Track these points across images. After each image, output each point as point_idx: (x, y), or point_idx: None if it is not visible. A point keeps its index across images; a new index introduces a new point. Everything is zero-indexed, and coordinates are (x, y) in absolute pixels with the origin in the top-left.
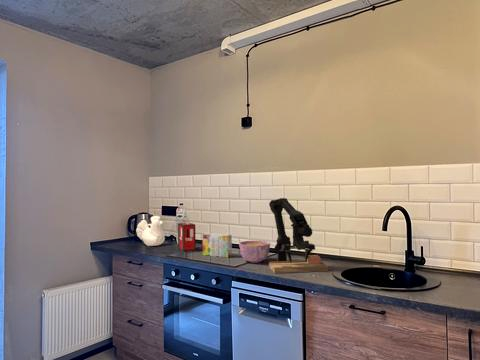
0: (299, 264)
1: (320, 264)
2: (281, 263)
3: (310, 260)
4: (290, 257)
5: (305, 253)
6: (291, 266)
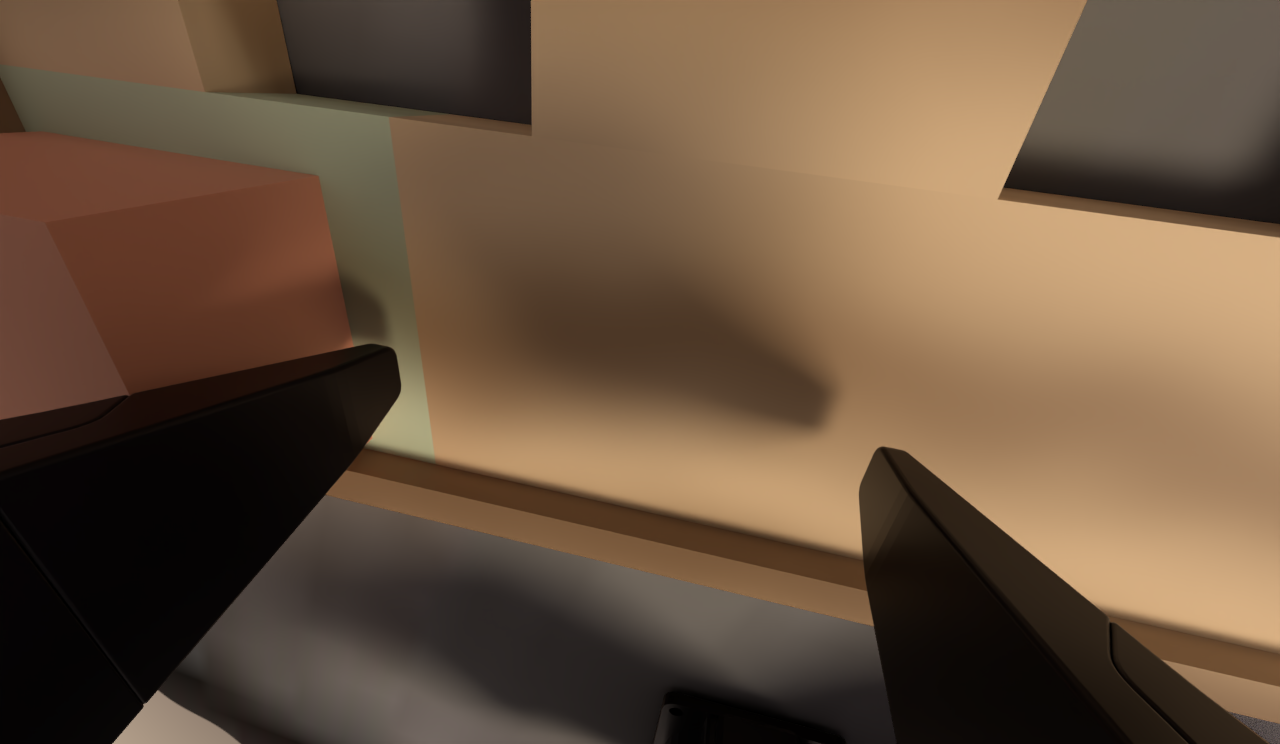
0: (637, 296)
1: (38, 92)
2: (1082, 577)
3: (188, 196)
4: (1016, 579)
5: (164, 619)
6: (1006, 200)
